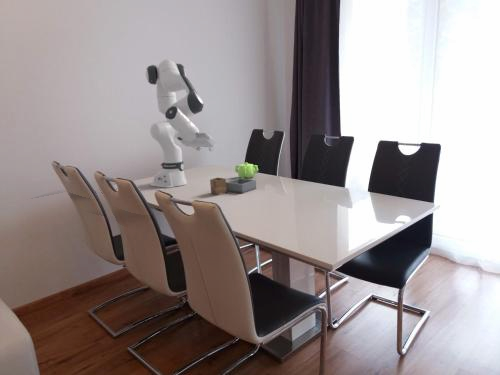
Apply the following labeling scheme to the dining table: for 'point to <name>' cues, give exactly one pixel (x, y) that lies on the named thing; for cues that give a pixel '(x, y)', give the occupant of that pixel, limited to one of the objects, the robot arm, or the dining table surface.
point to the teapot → (246, 170)
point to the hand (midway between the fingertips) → (205, 149)
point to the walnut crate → (218, 186)
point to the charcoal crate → (241, 185)
